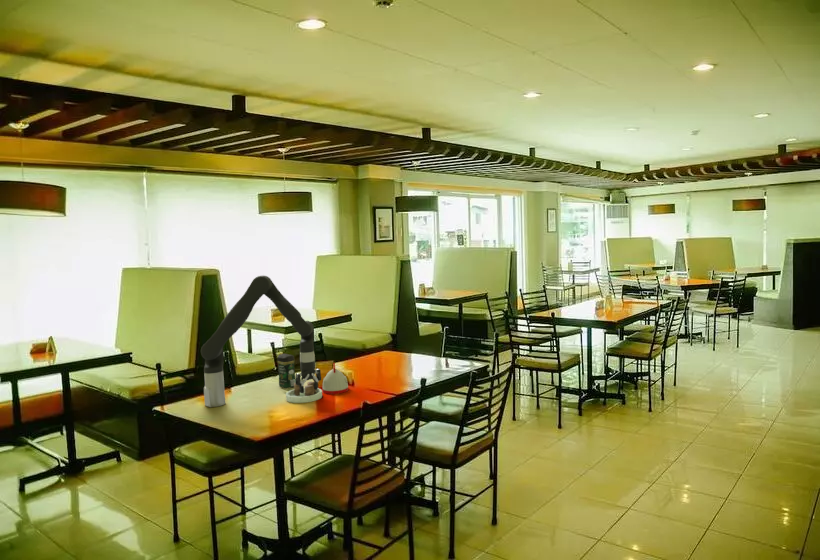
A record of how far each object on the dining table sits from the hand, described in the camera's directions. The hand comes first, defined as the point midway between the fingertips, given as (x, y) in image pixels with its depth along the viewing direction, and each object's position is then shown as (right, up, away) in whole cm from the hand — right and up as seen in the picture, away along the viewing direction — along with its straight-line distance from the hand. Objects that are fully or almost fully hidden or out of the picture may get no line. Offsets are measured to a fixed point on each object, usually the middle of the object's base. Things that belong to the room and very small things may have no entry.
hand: (309, 391), depth 292 cm
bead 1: (-7, -3, +8) cm, 11 cm away
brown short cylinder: (0, -3, 0) cm, 3 cm away
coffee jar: (-17, -3, +29) cm, 34 cm away
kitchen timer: (+12, -3, +16) cm, 20 cm away
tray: (-3, -4, +4) cm, 7 cm away
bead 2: (0, -3, +7) cm, 8 cm away
